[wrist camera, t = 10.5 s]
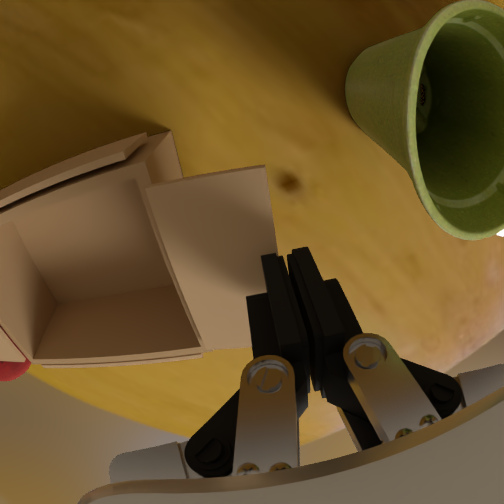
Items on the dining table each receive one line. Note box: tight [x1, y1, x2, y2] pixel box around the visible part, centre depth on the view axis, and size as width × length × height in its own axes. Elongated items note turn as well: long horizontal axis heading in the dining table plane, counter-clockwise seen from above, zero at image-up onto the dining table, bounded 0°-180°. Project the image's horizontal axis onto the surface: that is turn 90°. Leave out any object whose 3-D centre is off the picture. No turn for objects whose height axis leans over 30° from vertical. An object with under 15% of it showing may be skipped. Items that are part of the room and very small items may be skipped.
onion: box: [0, 325, 31, 381], centre depth 17 cm, size 6×6×8 cm
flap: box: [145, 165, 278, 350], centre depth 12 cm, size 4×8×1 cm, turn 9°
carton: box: [0, 131, 213, 368], centre depth 15 cm, size 13×11×6 cm
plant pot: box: [345, 0, 504, 240], centre depth 10 cm, size 9×9×9 cm
